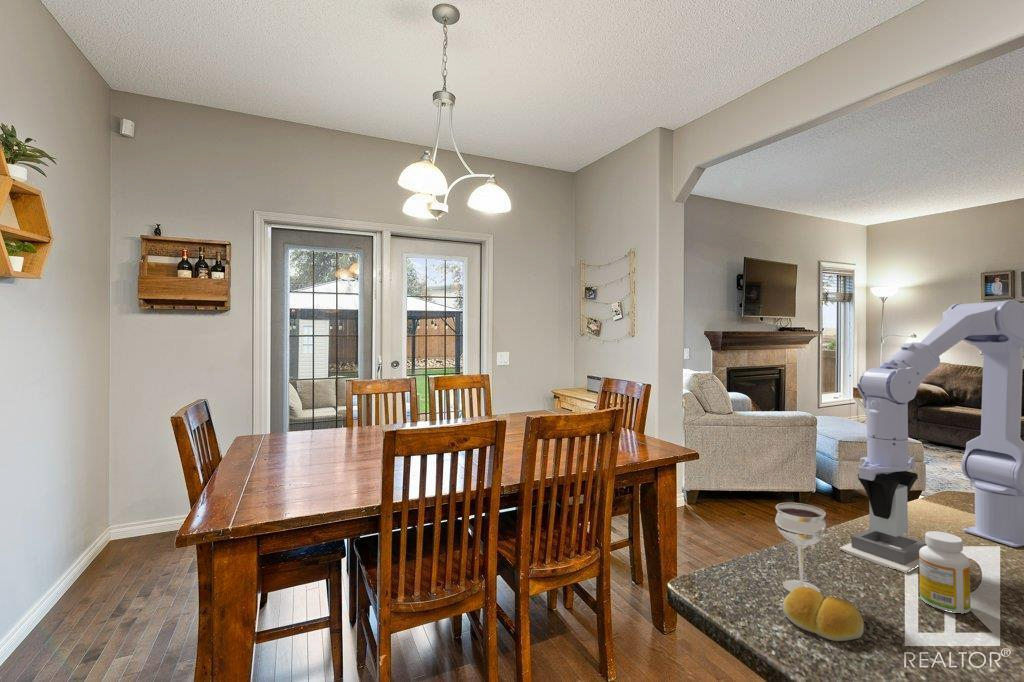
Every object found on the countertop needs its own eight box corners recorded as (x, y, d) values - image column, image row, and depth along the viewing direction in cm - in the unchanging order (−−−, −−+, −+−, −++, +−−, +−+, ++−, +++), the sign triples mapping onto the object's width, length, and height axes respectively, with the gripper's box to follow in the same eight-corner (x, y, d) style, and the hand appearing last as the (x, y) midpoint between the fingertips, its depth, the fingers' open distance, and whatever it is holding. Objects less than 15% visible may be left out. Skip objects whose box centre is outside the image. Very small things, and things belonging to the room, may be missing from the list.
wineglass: (800, 603, 70) (799, 520, 70) (766, 580, 77) (764, 504, 77) (839, 596, 72) (837, 515, 72) (802, 574, 78) (800, 500, 78)
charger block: (881, 524, 88) (880, 480, 88) (907, 532, 84) (907, 486, 84) (869, 528, 86) (868, 483, 86) (896, 536, 82) (895, 489, 82)
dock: (875, 536, 92) (874, 522, 92) (940, 556, 83) (940, 542, 83) (839, 550, 87) (839, 536, 87) (905, 573, 78) (905, 558, 78)
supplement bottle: (950, 594, 71) (949, 529, 71) (981, 616, 66) (980, 544, 66) (910, 593, 72) (909, 528, 72) (938, 614, 67) (937, 544, 67)
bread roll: (855, 653, 59) (854, 620, 59) (776, 622, 66) (775, 593, 66) (871, 625, 65) (871, 595, 65) (797, 599, 72) (797, 572, 72)
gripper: (882, 428, 92) (883, 500, 92) (839, 437, 85) (840, 515, 85) (928, 435, 86) (929, 512, 86) (885, 445, 79) (886, 528, 79)
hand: (888, 514), depth 85 cm, fingers closed on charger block, 4 cm apart
